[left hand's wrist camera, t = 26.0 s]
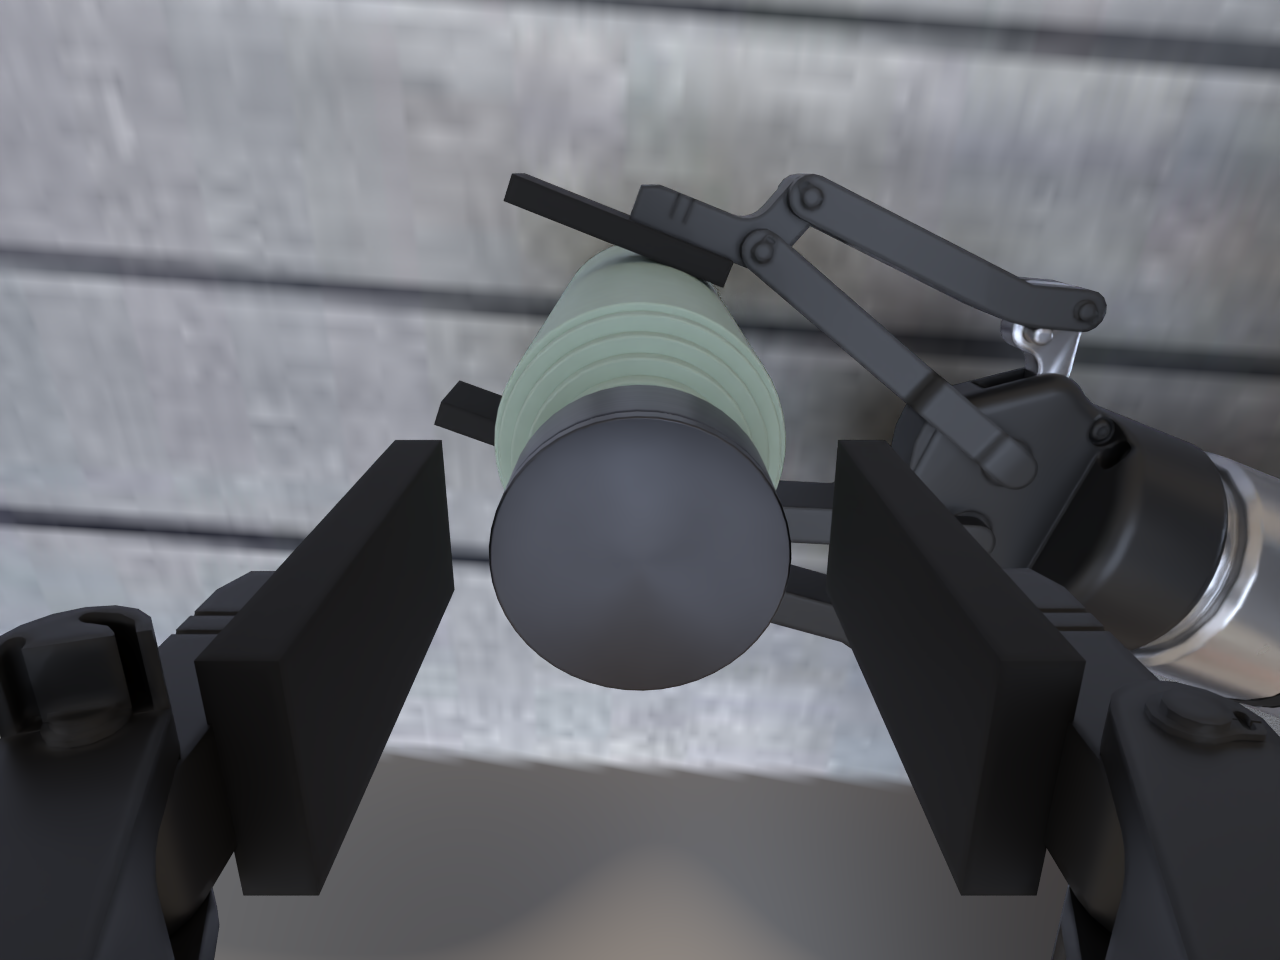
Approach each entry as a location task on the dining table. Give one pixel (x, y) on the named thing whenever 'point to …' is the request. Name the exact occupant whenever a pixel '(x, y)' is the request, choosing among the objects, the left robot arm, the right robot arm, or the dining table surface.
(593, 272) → the bottle
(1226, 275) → the dining table surface
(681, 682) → the cap
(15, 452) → the dining table surface
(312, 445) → the dining table surface
